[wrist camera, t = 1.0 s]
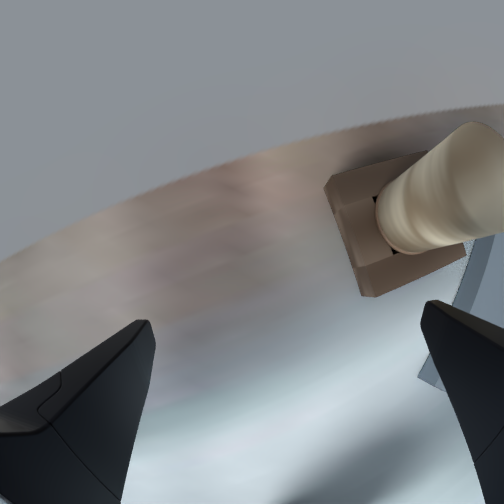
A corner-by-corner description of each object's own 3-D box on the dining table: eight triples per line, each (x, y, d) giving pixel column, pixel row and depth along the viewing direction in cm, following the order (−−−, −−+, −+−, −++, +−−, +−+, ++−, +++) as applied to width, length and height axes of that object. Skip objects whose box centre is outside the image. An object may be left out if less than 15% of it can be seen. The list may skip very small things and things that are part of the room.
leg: (430, 232, 23) (538, 194, 10) (387, 272, 23) (496, 259, 10) (392, 179, 24) (481, 105, 11) (346, 216, 23) (427, 149, 10)
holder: (447, 258, 23) (466, 255, 20) (361, 295, 23) (375, 297, 20) (411, 163, 24) (427, 150, 21) (323, 188, 24) (331, 175, 21)
